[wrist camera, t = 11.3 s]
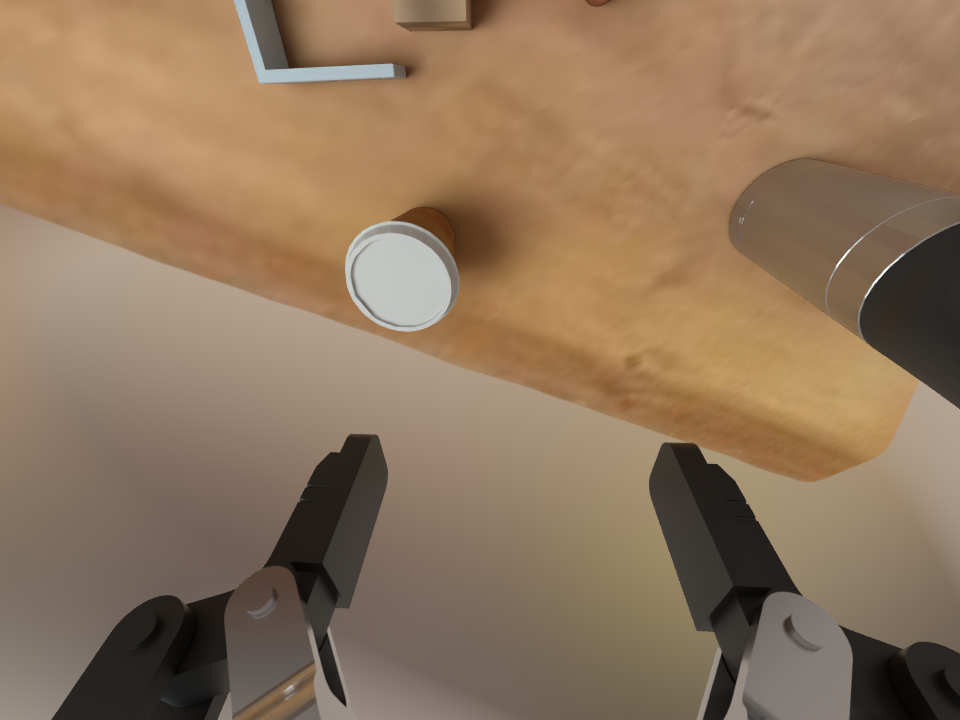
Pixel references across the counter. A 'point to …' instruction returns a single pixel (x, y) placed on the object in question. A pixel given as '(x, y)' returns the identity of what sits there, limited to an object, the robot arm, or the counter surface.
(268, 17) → the lane rack
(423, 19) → the block with brown handle
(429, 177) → the counter surface
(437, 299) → the disposable coffee cup
